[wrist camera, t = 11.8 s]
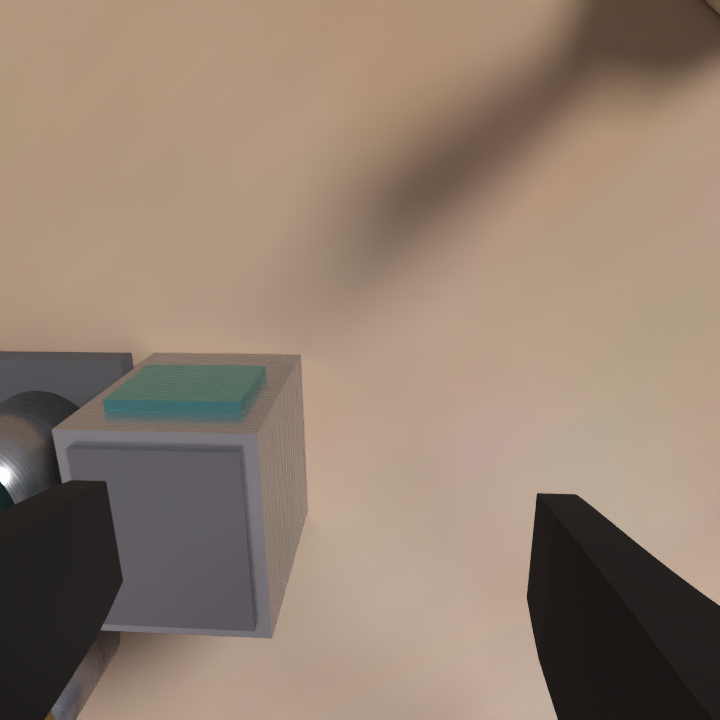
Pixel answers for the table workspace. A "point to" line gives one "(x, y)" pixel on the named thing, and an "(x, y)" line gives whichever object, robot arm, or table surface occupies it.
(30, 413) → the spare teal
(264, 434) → the control box
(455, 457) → the table surface
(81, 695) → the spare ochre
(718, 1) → the hand bell
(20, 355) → the pad
